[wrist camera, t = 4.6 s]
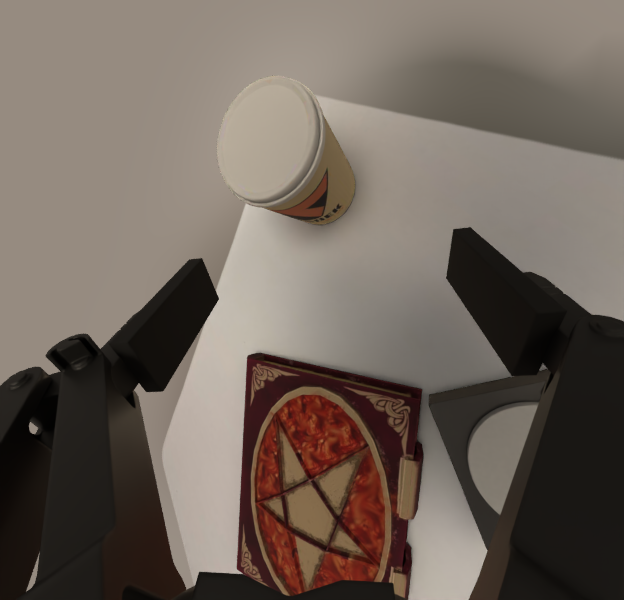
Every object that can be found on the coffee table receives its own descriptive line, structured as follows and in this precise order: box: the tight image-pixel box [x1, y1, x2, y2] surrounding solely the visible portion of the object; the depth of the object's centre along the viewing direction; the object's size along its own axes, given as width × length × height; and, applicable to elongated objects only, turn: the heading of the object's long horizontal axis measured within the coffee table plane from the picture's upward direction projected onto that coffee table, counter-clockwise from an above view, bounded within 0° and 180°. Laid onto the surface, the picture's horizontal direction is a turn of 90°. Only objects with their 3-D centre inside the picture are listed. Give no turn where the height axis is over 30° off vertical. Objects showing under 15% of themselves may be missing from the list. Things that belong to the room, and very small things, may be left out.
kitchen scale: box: [429, 369, 550, 550], centre depth 22 cm, size 13×13×3 cm
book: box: [237, 353, 423, 599], centre depth 31 cm, size 28×21×5 cm
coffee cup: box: [217, 76, 355, 225], centre depth 26 cm, size 9×9×12 cm
